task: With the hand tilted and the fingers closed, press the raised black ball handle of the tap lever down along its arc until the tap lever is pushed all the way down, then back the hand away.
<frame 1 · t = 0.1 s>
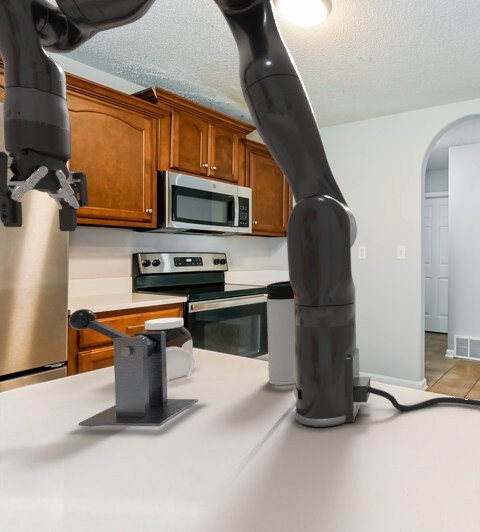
hand: (42, 229, 59), 29 cm above the countertop, tool pointing down, fingers open, 8 cm apart
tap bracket: (143, 418, 57), on the countertop
travel mug: (287, 386, 71), on the countertop
tap lever: (111, 332, 57), point 13 cm above the countertop, hinge at 25.0°
spread jar: (170, 378, 76), on the countertop
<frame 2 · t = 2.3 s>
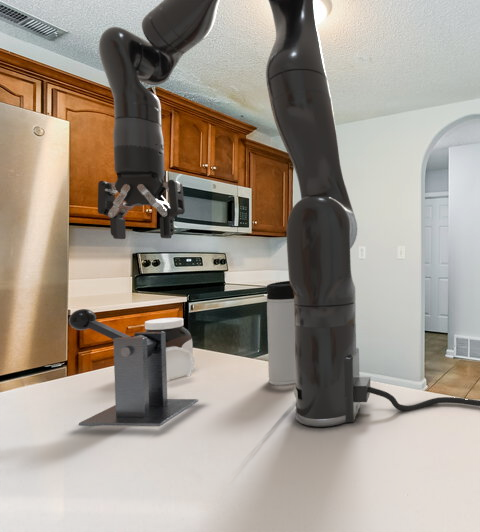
hand: (143, 238, 68), 28 cm above the countertop, tool pointing down, fingers open, 8 cm apart
nothing on the countertop moved.
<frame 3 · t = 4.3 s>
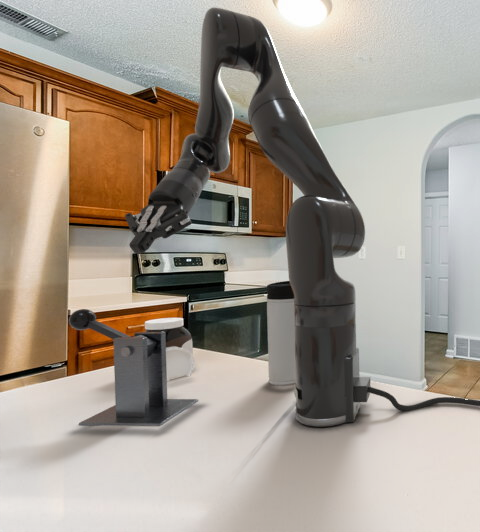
hand: (136, 250, 68), 26 cm above the countertop, tool tilted 45°, fingers closed
nothing on the countertop moved.
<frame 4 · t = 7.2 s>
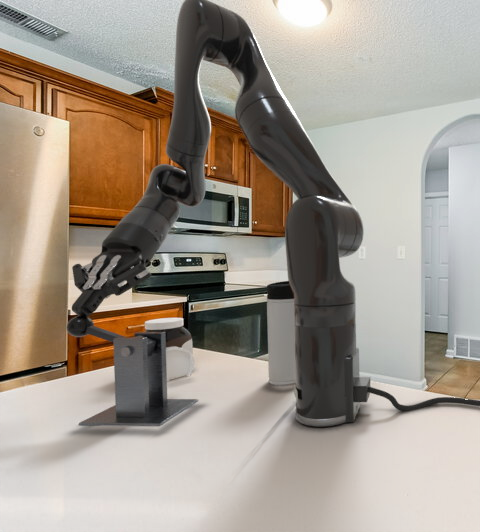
hand: (80, 313, 57), 16 cm above the countertop, tool tilted 45°, fingers closed
tap lever: (109, 336, 57), point 13 cm above the countertop, hinge at 18.5°, touching gripper
everything else where it was.
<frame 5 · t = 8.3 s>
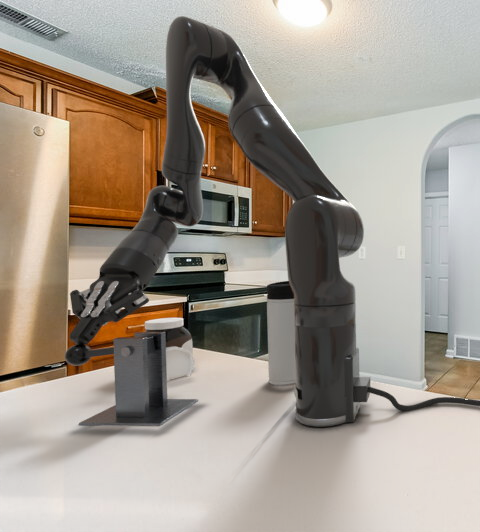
hand: (77, 341, 57), 12 cm above the countertop, tool tilted 45°, fingers closed
tap lever: (108, 350, 57), point 10 cm above the countertop, hinge at -7.0°, touching gripper
everything else where it was.
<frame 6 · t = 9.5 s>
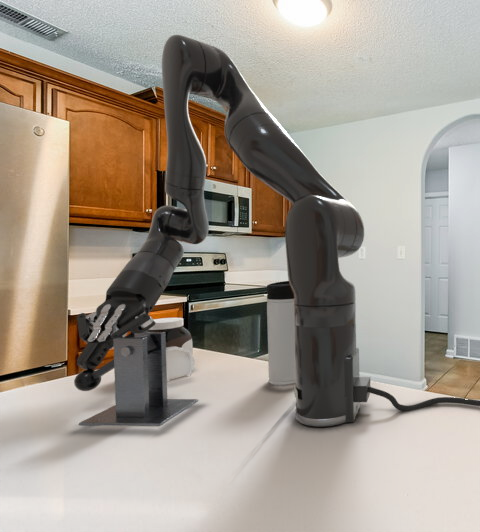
hand: (85, 367, 57), 8 cm above the countertop, tool tilted 45°, fingers closed
tap lever: (113, 363, 57), point 8 cm above the countertop, hinge at -30.8°, touching gripper
everything else where it was.
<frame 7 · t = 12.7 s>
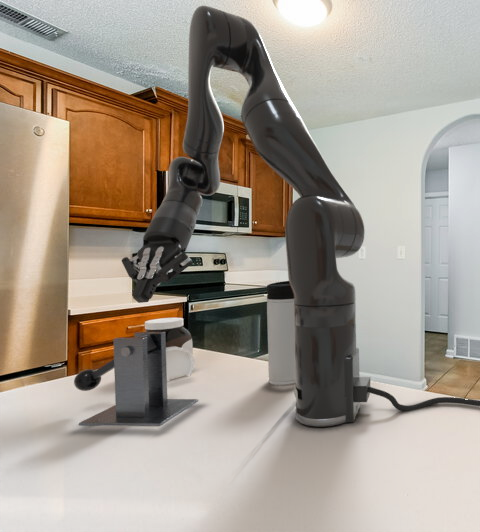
hand: (140, 300, 66), 17 cm above the countertop, tool tilted 40°, fingers closed
tap lever: (113, 363, 57), point 8 cm above the countertop, hinge at -30.6°
everything else where it was.
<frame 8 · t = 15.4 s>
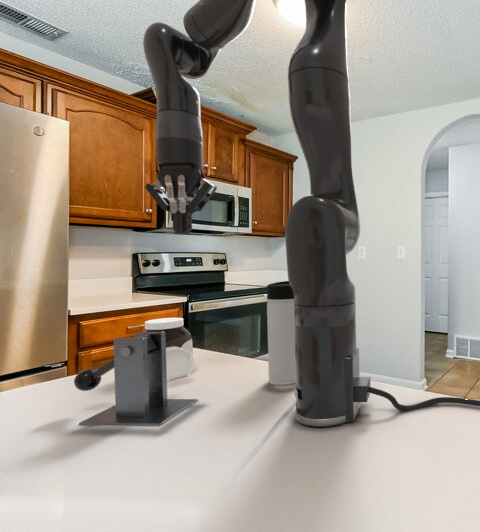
hand: (182, 234, 70), 29 cm above the countertop, tool pointing down, fingers closed
nothing on the countertop moved.
at the end: tap lever at -31° (first picture: +25°); the gripper is holding nothing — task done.
